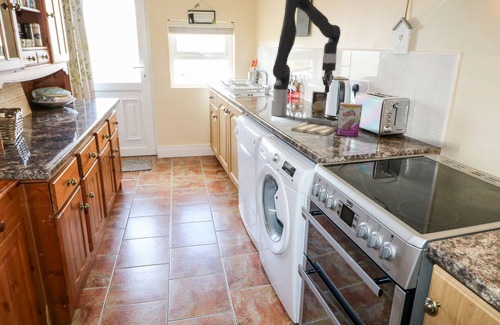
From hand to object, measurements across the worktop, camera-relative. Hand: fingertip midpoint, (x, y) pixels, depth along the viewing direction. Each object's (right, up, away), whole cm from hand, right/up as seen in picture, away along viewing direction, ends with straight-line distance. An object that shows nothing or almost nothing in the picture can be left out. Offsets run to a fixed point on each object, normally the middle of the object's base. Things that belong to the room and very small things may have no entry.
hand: (326, 92), depth 203 cm
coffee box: (-1, -11, +23) cm, 26 cm away
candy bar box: (+5, -27, -24) cm, 37 cm away
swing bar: (-5, -19, -8) cm, 21 cm away
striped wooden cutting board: (-8, -23, -11) cm, 26 cm away
